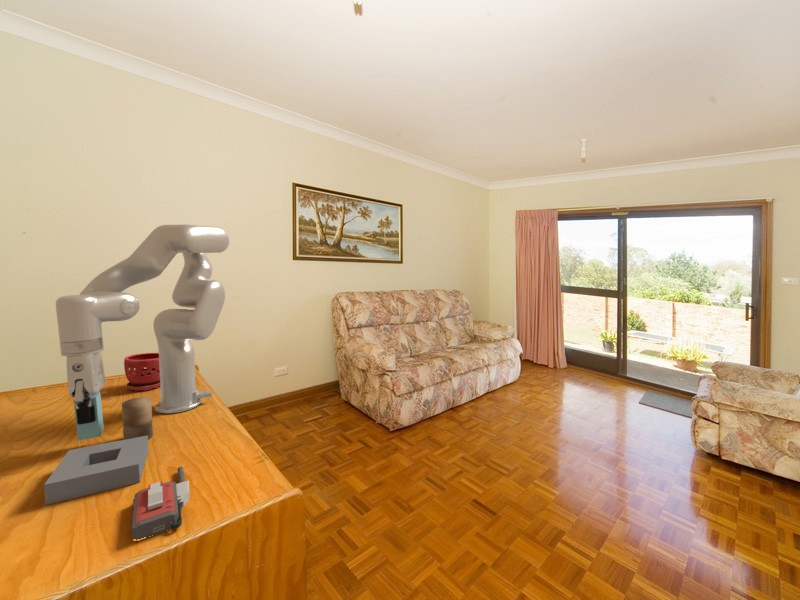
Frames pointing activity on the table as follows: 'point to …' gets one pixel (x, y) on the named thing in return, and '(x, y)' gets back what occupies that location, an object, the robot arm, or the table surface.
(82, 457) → the socket block
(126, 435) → the round plug
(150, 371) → the plant pot
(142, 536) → the walkie-talkie
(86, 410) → the robot arm
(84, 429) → the square peg
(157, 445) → the table surface
